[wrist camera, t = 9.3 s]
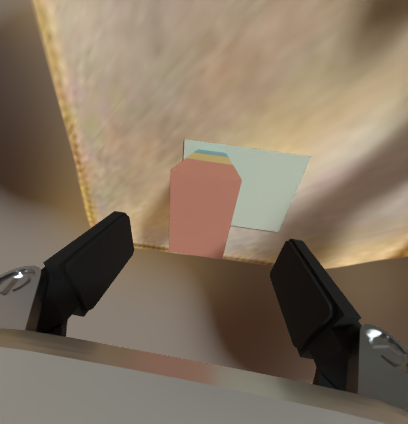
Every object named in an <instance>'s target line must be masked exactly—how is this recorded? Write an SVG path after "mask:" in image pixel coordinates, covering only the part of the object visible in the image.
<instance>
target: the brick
mask: <svg viewBox="0 0 408 424" xmlns="http://www.w3.org/2000/svg"><path fill="white" fill-rule="evenodd" d="M241 183H242V179H241V177H240V176H239V174H238V172H237V171H236V169H235V167H234V165H230V164H223V163H216V162H209V161H203V160H196V159H189V158H186V159H184V160H183V161H182V162H180V163H179V164H178V165H176V166H175V167H174V168H172V169H171V172H170V218H169V251H171V252H177V253H184V254H191V255H197V256H204V257H210V258H217V259H222V257H223V253H224V250H225V246H226V242H227V238H228V234H229V230H230V226H231V222H232V218H233V214H234V210H235V206H236V202H237V198H238V194H239V191H240V187H241Z"/></svg>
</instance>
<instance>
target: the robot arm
mask: <svg viewBox="0 0 408 424" xmlns="http://www.w3.org/2000/svg"><path fill="white" fill-rule="evenodd" d="M133 252H134V246H133V239H132V232H131V225H130V219H129V216H127V214H126V213H123V212H117V211H115V212H113V213H111V214H110V215H109V216H107V217H106V218H105V219H103V220H102V221H100V222H99V223H98V224H96V225H95V226H93V227H92V228H91V229H90V230H88V231H87V232H85V233H84V234H82V235H81V236H80V237H78V238H77V239H76V240H74V241H73V242H71V243H70V244H68V245H67V246H66V247H64V248H63V249H62V250H60V251H59V252H58V253H56V254H55V255H53V256H52V257H50V258H49V259H48V260H46V261H45V262H44V265H45V267H44V268H43V269H42V270H41V269H40V268H39V267H37V266H24V267H19V268H16V269H13V270H10V271H8V272H5V273H4V274H1V275H0V424H408V349H407V348H406V347H405V346H404V345H403V344H402V343H400V342H399V341H398V340H397V339H396V338H394V337H393V336H392V335H390V334H389V333H387V332H386V331H384V330H382V329H380V328H379V327H376V326H373V325H369V324H364V325H362V326H361V324H360V323H359V322H358V320H359V319H361V317H360V315H359V314H358V313H357V312H356V310H355V309H354V308H353V306H352V305H351V304H350V303H349V301H348V300H347V298H346V297H345V296H344V294H343V293H342V292H341V291H340V289H339V288H338V287H337V285H336V284H335V283H334V282H333V280H332V279H331V277H330V276H329V275H328V273H327V272H326V271H325V270H324V268H323V267H322V266H321V264H320V263H319V262H318V260H317V259H316V258H315V256H314V255H313V254H312V253H311V251H310V250H309V249H308V247H307V246H306V245H305V243H304V242H303V241H301V240H295V239H290V240H289V241H286V242H285V244H284V246H283V248H282V250H281V252H280V254H279V256H278V258H277V260H276V262H275V264H274V266H273V268H272V270H271V273H270V278H271V281H272V284H273V287H274V290H275V293H276V296H277V299H278V302H279V305H280V307H281V311H282V313H283V316H284V319H285V322H286V325H287V328H288V331H289V334H290V337H291V340H292V342H293V345H294V346H295V347H296V348H297V349H298V352H299V355H300V357H304V358H310V359H314V362H315V364H316V370H315V374H314V379H313V384H309V383H305V382H299V381H295V380H289V379H284V378H279V377H274V376H269V375H264V374H259V373H254V372H249V371H243V370H239V369H234V368H229V367H223V366H218V365H213V364H208V363H202V362H197V361H192V360H187V359H181V358H177V357H171V356H166V355H161V354H156V353H150V352H144V351H139V350H135V349H129V348H124V347H118V346H112V345H108V344H102V343H97V342H92V341H86V340H81V339H75V338H70V337H66V331H67V321H68V318H69V317H70V316H71V315H72V314H73V315H77V316H85V315H86V313H87V312H88V311H89V310H91V309H92V308H94V306H95V305H96V304H97V302H98V301H99V300H100V298H101V297H102V296H103V294H104V293H105V291H106V290H107V289H108V288H109V286H110V284H111V283H112V282H113V281H114V279H115V278H116V277H117V275H118V274H119V273H120V271H121V270H122V269H123V267H124V266H125V264H126V263H127V262H128V260H129V259H130V258H131V256H132V255H133Z"/></svg>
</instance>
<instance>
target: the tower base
mask: <svg viewBox="0 0 408 424" xmlns="http://www.w3.org/2000/svg"><path fill="white" fill-rule="evenodd" d="M186 158H189V159H196V160H203V161H209V162H216V163H223V164H230V165H232V163H231V161H230V159H229V157H228V156H227V154H226V153H223V152H216V151H208V150H201V149H198V150H196V151H195V152H193V153H192V154H191V155H189V156H188V157H186ZM186 158H185V159H186Z"/></svg>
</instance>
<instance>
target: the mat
mask: <svg viewBox="0 0 408 424" xmlns="http://www.w3.org/2000/svg"><path fill="white" fill-rule="evenodd" d="M198 149H201V150H208V151H216V152H223V153H226V154H227V156H228V157H229V159H230V161H231V163H232V165H234V167H235V169H236V171H237V172H238V174H239V176H240V177H241V179H242V183H241V187H240V191H239V194H238V198H237V202H236V206H235V210H234V214H233V218H232V222H231V226H238V227H245V228H252V229H260V230H267V231H274V232H279V229H280V227H281V225H282V222H283V220H284V218H285V215H286V213H287V211H288V208H289V206H290V204H291V201H292V199H293V197H294V195H295V192H296V190H297V188H298V185H299V183H300V181H301V178H302V176H303V174H304V171H305V169H306V167H307V164H308V162H309V160H310V158H311V156H304V155H297V154H290V153H282V152H275V151H267V150H260V149H253V148H245V147H238V146H230V145H223V144H215V143H208V142H201V141H193V140H186V139H185V142H184V159H185V158H186V157H188V156H189V155H191V154H192V153H193V152H195V151H196V150H198Z"/></svg>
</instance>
